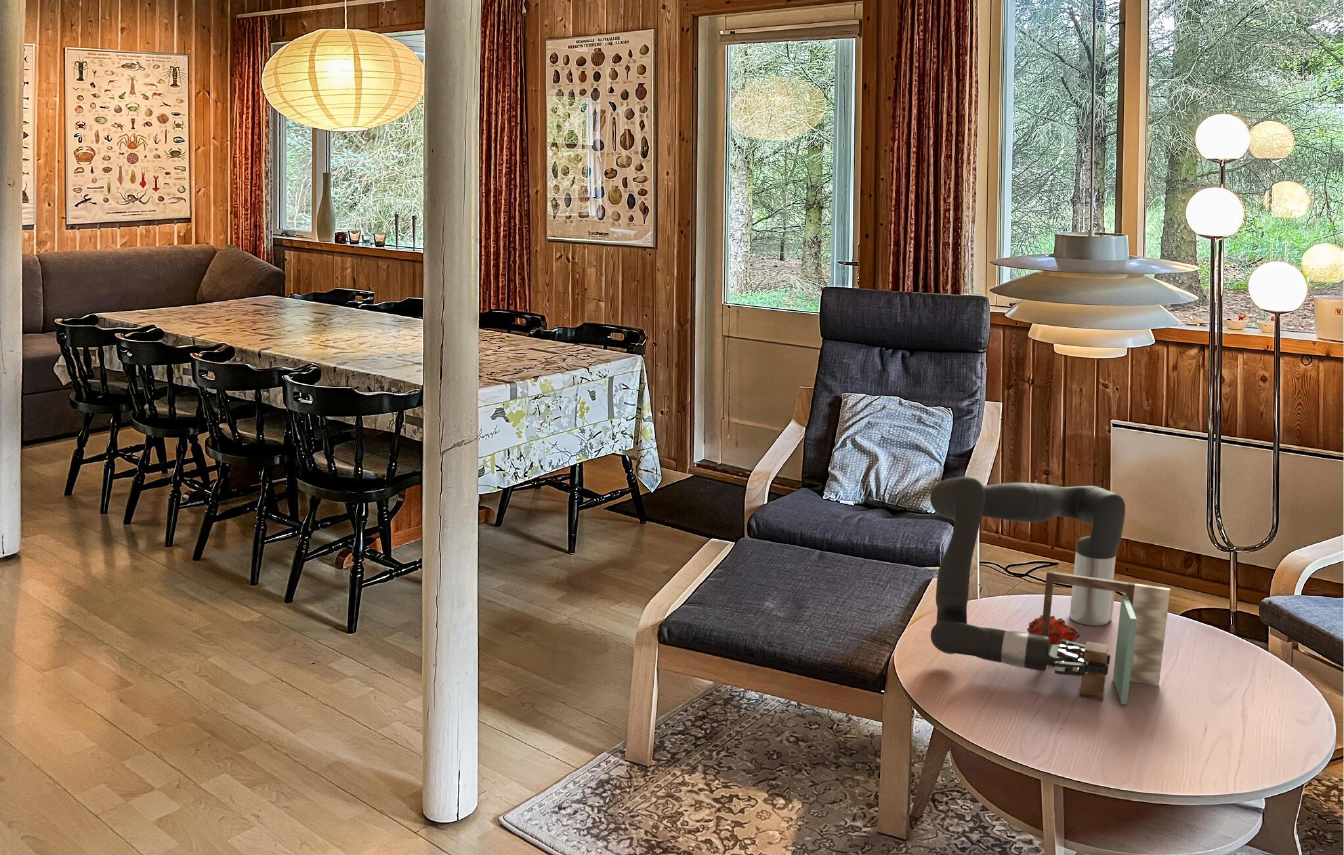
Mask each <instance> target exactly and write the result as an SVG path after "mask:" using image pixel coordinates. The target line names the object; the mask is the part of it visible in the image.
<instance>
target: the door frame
mask: <svg viewBox="0 0 1344 855" xmlns="http://www.w3.org/2000/svg"><path fill="white" fill-rule="evenodd" d="M1045 576H1046V577H1045V588H1044V598H1043V599H1044V600H1043V609H1042V610H1043V611H1042V615H1043V619H1042V630H1041V635H1043V636H1048V635H1049V625H1050V616H1051V612H1052V604H1053V603H1052V602H1053V591H1054V583H1056V584H1064V585H1070V586H1073V585H1075V586H1082V587H1089V588H1096V589H1103V590H1109V591H1115V593H1116V592H1117V593H1123V594H1125V596H1128V598H1129V601H1130V603H1131V606H1132V608H1133V611H1134V614H1135V616H1136V619H1137V620H1136V629H1135V638H1134V647H1133V655H1137V662H1136V663H1132V665H1131V674H1130V682H1132V683H1133V682H1134V683H1138V684H1144V685H1145V684H1146V685H1149V686H1151V685H1152V686H1157V687H1159V685H1160V678H1161V671H1162V670H1161V669H1162V664H1163V663H1162V661H1163V653H1164V646H1165V645H1164V644H1165V637H1166V629H1167V620H1168V619H1167V618H1168V611H1169V603H1170V602H1169V601H1170V594H1171V592H1170V591H1171V588H1168V587H1161V586H1156V585H1155V586H1154V585H1148V584H1141V583H1133V582H1126V581H1121V580H1120V581H1119V580H1114V579H1113V580H1107V579H1100V578H1093V577H1086V576H1079V575H1074V574H1071V573H1064V572H1057V571H1050V570H1046V575H1045Z"/></svg>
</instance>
